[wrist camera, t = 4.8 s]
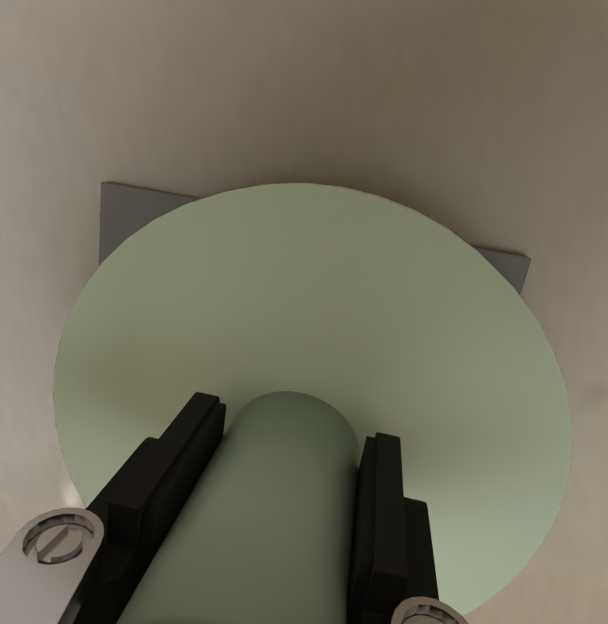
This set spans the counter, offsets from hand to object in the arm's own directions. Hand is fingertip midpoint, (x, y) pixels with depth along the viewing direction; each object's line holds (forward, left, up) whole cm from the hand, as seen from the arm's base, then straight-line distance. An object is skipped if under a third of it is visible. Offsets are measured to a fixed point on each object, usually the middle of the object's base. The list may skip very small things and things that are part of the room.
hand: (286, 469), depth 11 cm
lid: (0, 0, -2) cm, 2 cm away
